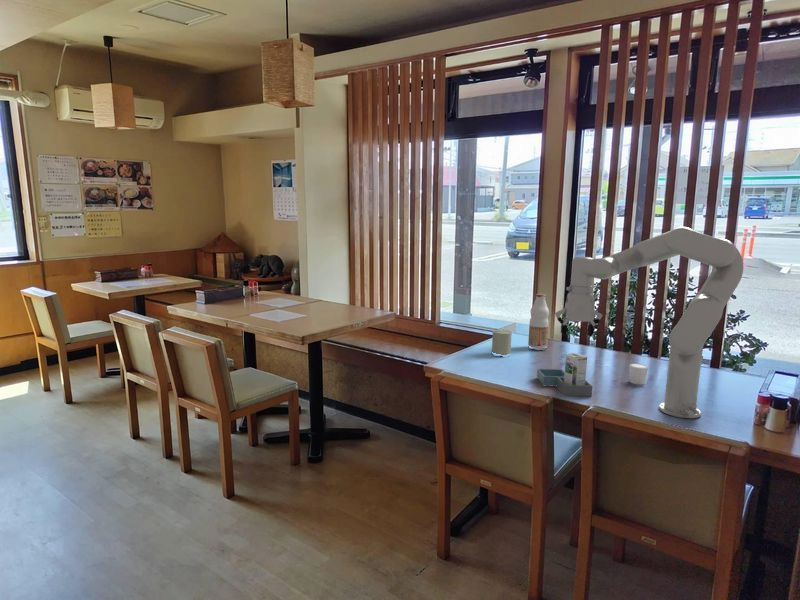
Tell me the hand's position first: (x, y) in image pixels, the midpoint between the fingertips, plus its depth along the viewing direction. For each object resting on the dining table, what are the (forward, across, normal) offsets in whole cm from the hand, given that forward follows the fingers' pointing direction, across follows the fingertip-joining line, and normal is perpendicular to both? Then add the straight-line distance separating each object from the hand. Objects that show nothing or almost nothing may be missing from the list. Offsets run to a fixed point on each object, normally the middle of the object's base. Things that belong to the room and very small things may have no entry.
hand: (576, 335), depth 189 cm
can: (+23, -17, +52) cm, 59 cm away
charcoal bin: (+22, +1, 0) cm, 22 cm away
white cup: (+22, +31, +13) cm, 40 cm away
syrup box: (+22, +1, 0) cm, 22 cm away
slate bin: (+22, -4, +11) cm, 25 cm away
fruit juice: (+23, +4, +65) cm, 69 cm away
